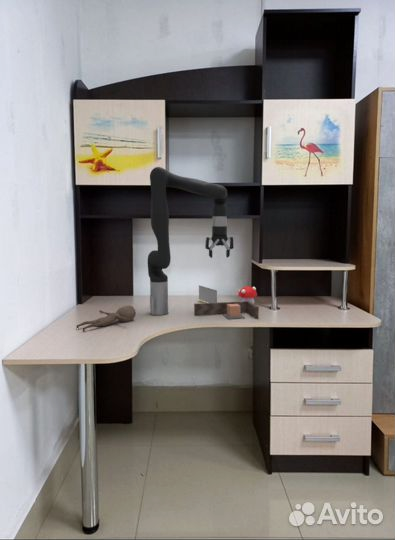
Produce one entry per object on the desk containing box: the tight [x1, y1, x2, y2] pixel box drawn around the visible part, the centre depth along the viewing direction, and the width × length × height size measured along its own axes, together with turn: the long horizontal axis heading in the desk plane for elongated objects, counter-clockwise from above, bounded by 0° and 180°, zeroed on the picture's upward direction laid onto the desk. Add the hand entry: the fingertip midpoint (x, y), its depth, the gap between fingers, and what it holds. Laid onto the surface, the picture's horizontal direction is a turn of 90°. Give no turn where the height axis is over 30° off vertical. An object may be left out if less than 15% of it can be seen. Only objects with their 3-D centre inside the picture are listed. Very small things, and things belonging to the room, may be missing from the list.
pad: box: [222, 314, 246, 320], centre depth 214 cm, size 9×9×1 cm
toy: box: [75, 305, 137, 332], centre depth 200 cm, size 26×8×30 cm
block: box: [227, 304, 242, 317], centre depth 214 cm, size 6×6×6 cm
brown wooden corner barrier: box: [193, 300, 260, 320], centre depth 214 cm, size 30×15×6 cm, turn 102°
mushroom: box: [237, 285, 258, 304], centre depth 236 cm, size 11×11×12 cm
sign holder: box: [197, 284, 218, 303], centre depth 244 cm, size 21×2×10 cm, turn 29°
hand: (219, 257), depth 215 cm, fingers open, 8 cm apart
